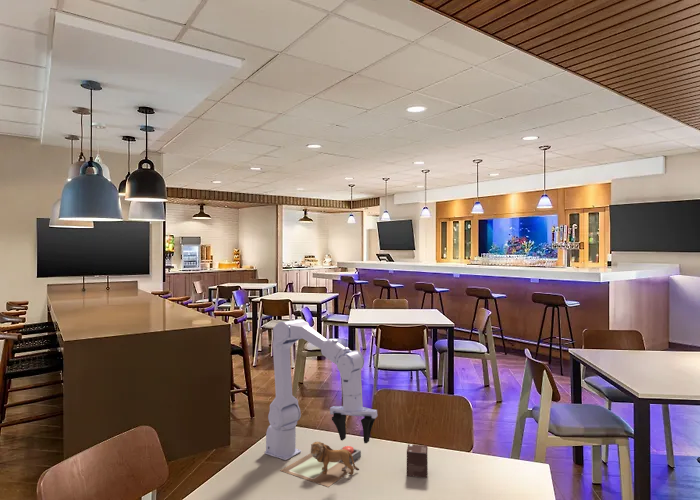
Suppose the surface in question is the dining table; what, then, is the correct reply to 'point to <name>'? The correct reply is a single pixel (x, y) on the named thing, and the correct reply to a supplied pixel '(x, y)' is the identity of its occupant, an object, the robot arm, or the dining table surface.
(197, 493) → the dining table surface
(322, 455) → the lion figurine
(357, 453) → the button housing
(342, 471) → the picture sheet
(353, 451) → the button
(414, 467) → the box
